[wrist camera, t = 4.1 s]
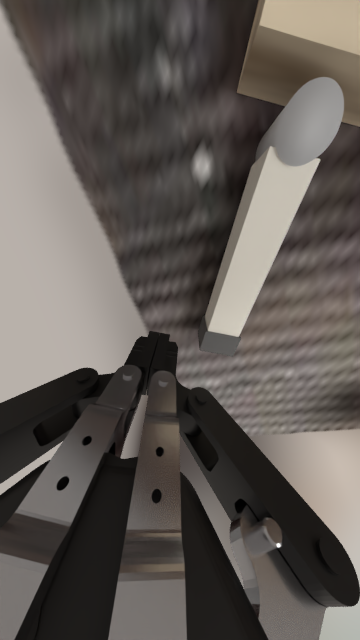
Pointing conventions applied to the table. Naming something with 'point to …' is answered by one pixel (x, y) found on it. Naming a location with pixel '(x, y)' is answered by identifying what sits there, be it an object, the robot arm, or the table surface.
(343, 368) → the table surface
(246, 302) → the folding leg
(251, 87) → the rail
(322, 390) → the table surface
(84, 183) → the table surface
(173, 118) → the table surface
